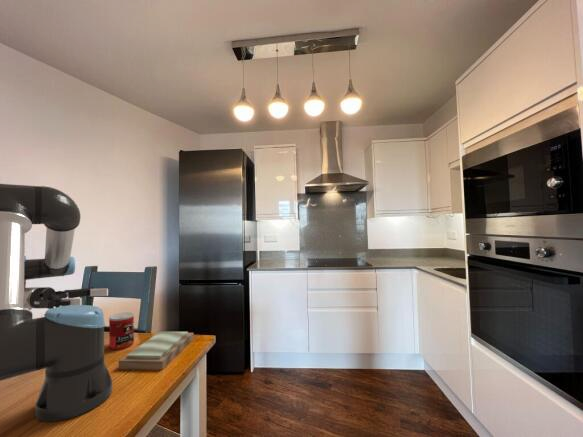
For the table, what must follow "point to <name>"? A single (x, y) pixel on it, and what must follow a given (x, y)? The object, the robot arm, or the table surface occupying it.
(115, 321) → the canned food
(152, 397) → the table surface
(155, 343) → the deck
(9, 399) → the table surface
